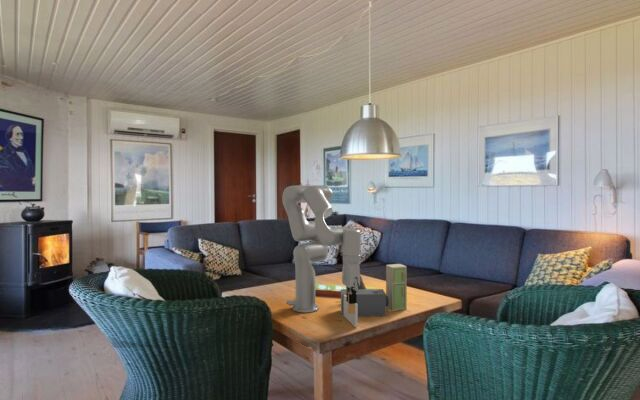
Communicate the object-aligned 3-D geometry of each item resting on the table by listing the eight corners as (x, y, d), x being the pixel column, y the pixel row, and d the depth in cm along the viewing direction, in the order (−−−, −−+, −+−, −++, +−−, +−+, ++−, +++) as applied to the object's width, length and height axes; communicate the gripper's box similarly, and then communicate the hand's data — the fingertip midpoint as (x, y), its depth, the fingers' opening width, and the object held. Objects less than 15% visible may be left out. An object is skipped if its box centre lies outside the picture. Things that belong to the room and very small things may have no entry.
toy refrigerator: (392, 311, 189) (392, 267, 188) (385, 307, 196) (385, 264, 195) (407, 310, 191) (407, 266, 190) (400, 305, 198) (400, 263, 198)
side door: (338, 316, 181) (338, 284, 180) (345, 315, 182) (345, 283, 181) (349, 327, 166) (350, 292, 166) (357, 326, 167) (357, 292, 167)
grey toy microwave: (342, 316, 182) (342, 293, 182) (340, 310, 191) (341, 288, 191) (389, 316, 183) (389, 293, 182) (385, 309, 192) (385, 287, 191)
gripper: (337, 256, 174) (337, 298, 175) (349, 262, 158) (349, 308, 159) (353, 255, 176) (353, 296, 177) (367, 261, 161) (367, 307, 161)
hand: (351, 302), depth 168 cm, fingers closed
